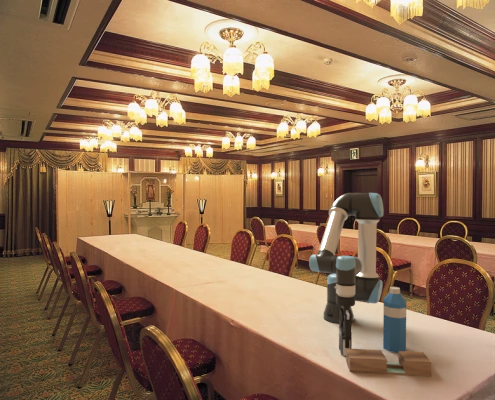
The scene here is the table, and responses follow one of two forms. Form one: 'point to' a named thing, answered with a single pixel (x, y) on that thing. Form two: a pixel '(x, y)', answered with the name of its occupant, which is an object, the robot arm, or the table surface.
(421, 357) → the rail
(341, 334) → the clip
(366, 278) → the robot arm
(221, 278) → the table surface
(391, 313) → the water bottle
